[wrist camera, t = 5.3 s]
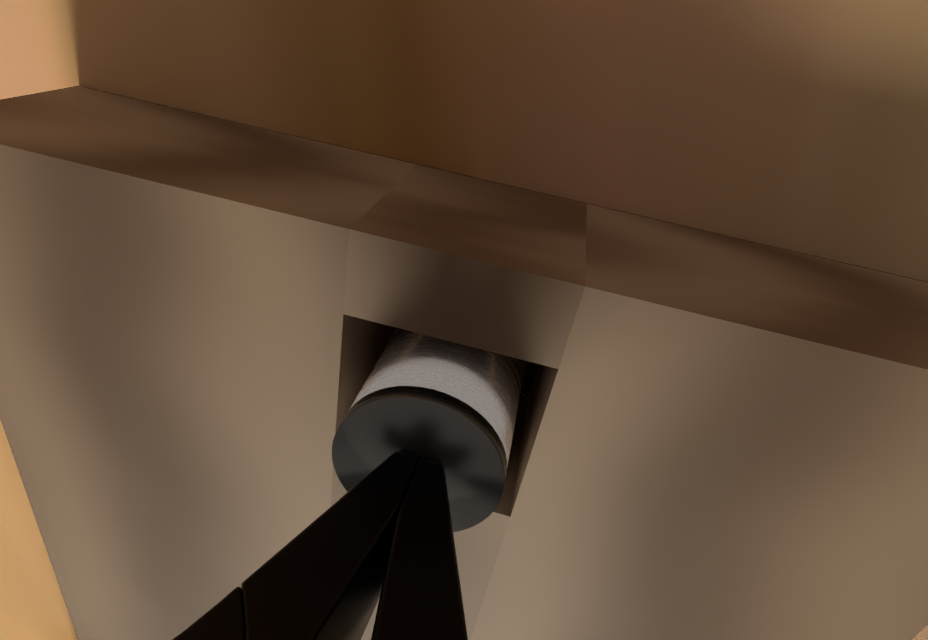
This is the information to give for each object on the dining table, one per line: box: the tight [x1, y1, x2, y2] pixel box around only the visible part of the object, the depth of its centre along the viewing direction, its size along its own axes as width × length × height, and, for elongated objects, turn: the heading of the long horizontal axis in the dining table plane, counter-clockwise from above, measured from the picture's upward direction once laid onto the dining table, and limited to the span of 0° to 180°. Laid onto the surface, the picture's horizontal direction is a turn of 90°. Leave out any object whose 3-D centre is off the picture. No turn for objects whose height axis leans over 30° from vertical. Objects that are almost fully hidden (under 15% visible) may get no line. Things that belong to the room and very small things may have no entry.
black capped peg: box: [332, 328, 526, 532], centre depth 11 cm, size 3×3×4 cm
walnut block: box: [0, 86, 928, 640], centre depth 15 cm, size 20×17×4 cm
